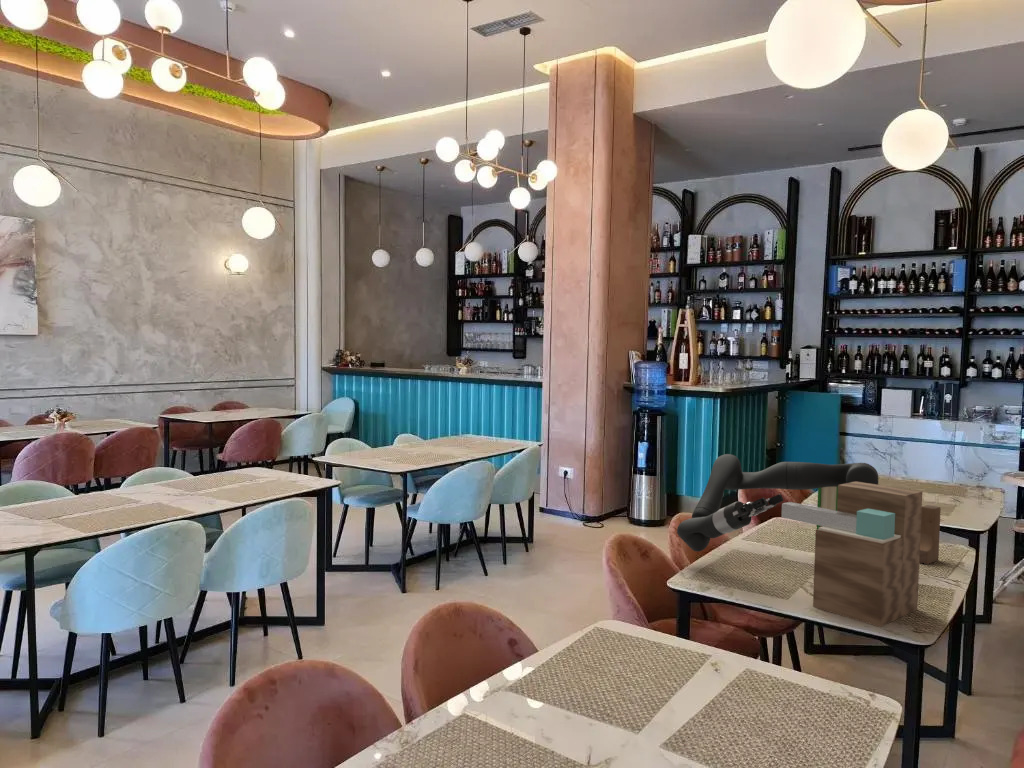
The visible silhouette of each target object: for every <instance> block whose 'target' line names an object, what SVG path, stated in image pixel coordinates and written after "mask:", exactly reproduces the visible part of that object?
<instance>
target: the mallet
mask: <svg viewBox="0 0 1024 768" xmlns="http://www.w3.org/2000/svg"><path fill="white" fill-rule="evenodd" d="M782 518H783V519H787V520H792V521H797V522H801V523H805V524H811V525H815V526H817V525H820V526H824V527H829V528H834V529H839V530H844V531H848V532H853V533H856V534H858V535H863V536H868V537H872V538H877V539H882V540H884V539H887V538H891V537H894V530H895V513H891V512H885V511H880V510H874V509H869V508H868V509H864V510H860V511H857V515H856V514H851V513H846V512H840V511H835V510H830V509H824V508H819V507H817V506H813V505H808V504H803V503H797V502H794V501H793V502H792V501H788V502H783V503H782V502H781V519H782Z"/></svg>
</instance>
